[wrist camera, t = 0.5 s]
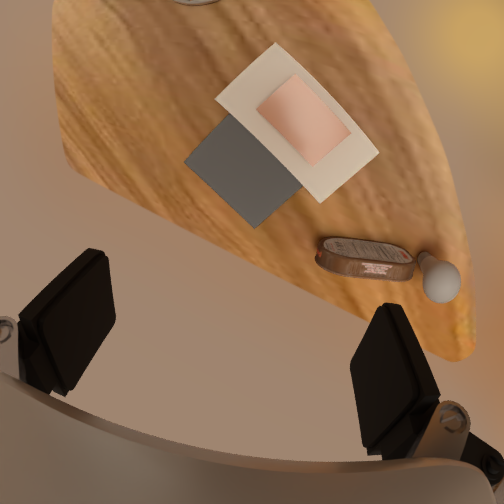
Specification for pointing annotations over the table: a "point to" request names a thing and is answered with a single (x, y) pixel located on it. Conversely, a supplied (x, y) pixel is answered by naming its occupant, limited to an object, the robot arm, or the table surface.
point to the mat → (242, 171)
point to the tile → (304, 120)
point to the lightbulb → (439, 278)
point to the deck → (244, 110)
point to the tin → (365, 259)
